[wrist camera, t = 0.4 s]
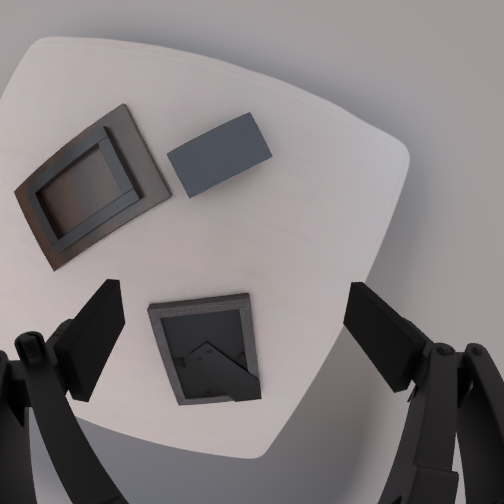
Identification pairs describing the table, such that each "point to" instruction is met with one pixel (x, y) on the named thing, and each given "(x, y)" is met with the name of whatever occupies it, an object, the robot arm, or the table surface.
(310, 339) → the table surface
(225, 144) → the pad block
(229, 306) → the picture frame
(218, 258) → the table surface
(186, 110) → the table surface
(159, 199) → the back plate
